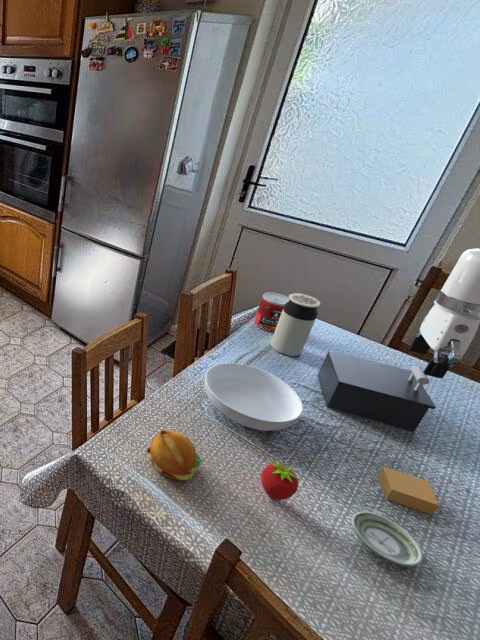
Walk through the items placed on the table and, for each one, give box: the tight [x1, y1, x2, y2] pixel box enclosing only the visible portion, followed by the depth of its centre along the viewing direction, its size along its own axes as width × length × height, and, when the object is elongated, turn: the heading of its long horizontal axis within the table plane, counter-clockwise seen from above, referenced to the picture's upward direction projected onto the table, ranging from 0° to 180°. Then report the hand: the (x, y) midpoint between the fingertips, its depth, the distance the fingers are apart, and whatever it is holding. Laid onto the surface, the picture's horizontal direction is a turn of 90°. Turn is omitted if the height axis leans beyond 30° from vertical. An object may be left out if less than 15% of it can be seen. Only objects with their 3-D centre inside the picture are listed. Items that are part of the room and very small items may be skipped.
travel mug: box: [269, 292, 321, 357], centre depth 125 cm, size 8×8×18 cm
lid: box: [327, 350, 436, 410], centre depth 104 cm, size 18×14×5 cm
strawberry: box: [260, 459, 299, 501], centre depth 83 cm, size 6×8×10 cm
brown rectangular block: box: [377, 466, 440, 516], centre depth 85 cm, size 7×6×3 cm
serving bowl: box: [204, 362, 304, 432], centre depth 105 cm, size 21×21×7 cm
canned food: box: [254, 291, 289, 332], centre depth 137 cm, size 8×8×11 cm
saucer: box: [350, 510, 424, 568], centre depth 76 cm, size 10×10×2 cm
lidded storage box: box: [317, 352, 430, 433], centre depth 107 cm, size 17×14×8 cm
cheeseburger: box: [146, 429, 203, 482], centre depth 90 cm, size 10×11×10 cm
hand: (424, 363), depth 99 cm, fingers open, 9 cm apart
